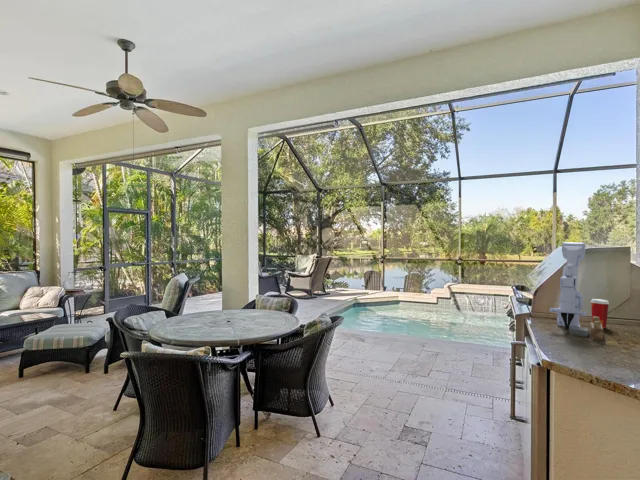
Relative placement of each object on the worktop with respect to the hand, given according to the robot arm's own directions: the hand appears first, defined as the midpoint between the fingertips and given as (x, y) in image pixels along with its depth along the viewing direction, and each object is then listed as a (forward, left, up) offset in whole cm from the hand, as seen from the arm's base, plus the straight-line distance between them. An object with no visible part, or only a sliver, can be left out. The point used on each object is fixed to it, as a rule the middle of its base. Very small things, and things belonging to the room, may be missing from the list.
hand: (567, 328), depth 172 cm
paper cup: (+13, +23, -2) cm, 27 cm away
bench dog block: (+11, 0, -2) cm, 11 cm away
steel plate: (+5, -1, -2) cm, 5 cm away
